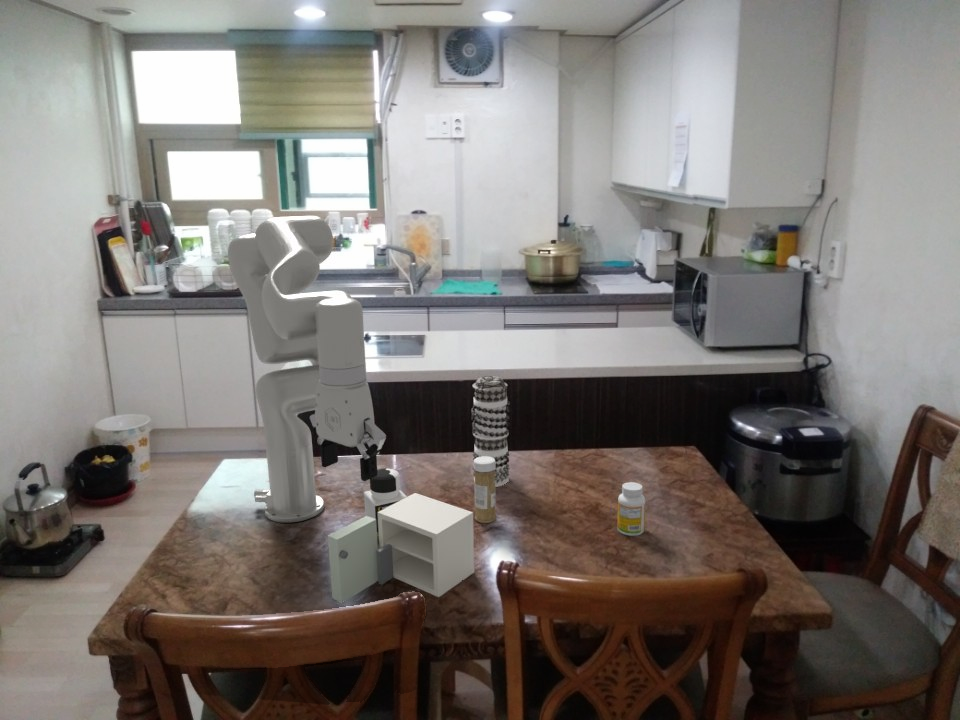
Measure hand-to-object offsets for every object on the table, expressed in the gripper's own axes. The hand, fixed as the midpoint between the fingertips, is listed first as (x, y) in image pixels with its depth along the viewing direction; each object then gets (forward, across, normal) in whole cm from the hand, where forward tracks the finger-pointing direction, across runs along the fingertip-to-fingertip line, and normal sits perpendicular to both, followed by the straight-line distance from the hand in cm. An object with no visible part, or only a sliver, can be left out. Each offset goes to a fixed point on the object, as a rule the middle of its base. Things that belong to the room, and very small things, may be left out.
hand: (349, 471), depth 124 cm
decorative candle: (+22, -8, +51) cm, 56 cm away
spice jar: (+22, +3, +34) cm, 41 cm away
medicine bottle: (+22, -12, +20) cm, 32 cm away
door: (+22, 0, 0) cm, 22 cm away
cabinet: (+22, +6, +10) cm, 25 cm away
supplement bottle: (+22, +30, +48) cm, 60 cm away
